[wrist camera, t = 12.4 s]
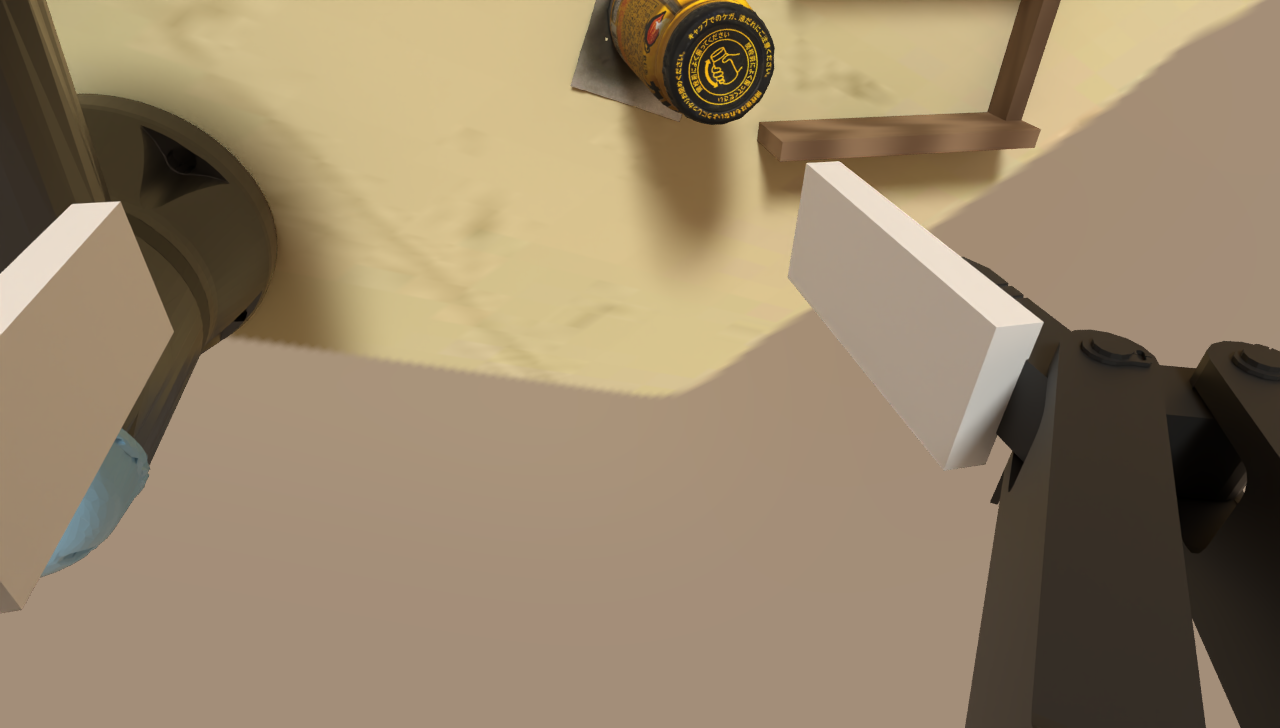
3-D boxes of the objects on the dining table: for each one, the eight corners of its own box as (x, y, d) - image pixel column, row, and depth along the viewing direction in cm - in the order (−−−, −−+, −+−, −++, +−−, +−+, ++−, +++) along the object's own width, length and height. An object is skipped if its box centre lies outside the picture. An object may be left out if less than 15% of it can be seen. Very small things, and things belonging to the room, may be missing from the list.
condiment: (733, -21, 42) (820, 18, 32) (678, 121, 46) (741, 193, 36) (616, -72, 39) (674, -45, 29) (569, 84, 43) (606, 152, 33)
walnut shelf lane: (757, 140, 48) (780, 161, 44) (786, -102, 40) (816, -97, 37) (997, 128, 51) (1034, 147, 48) (1067, -96, 43) (1117, -91, 40)
